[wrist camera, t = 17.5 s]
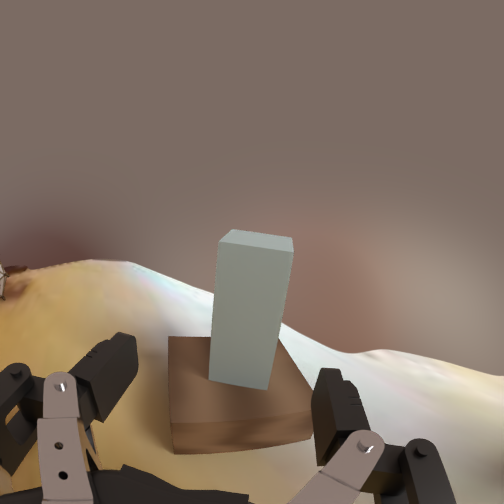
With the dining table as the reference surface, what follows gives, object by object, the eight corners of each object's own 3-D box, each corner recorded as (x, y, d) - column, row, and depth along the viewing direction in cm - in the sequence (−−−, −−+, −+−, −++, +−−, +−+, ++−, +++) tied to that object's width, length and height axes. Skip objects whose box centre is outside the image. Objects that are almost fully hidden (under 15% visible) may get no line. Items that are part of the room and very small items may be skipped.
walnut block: (270, 368, 32) (276, 335, 30) (309, 441, 20) (323, 407, 19) (169, 371, 28) (168, 336, 27) (175, 456, 17) (170, 422, 16)
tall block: (270, 357, 26) (291, 237, 23) (267, 390, 21) (293, 252, 18) (220, 348, 26) (232, 229, 23) (208, 379, 21) (218, 241, 18)
